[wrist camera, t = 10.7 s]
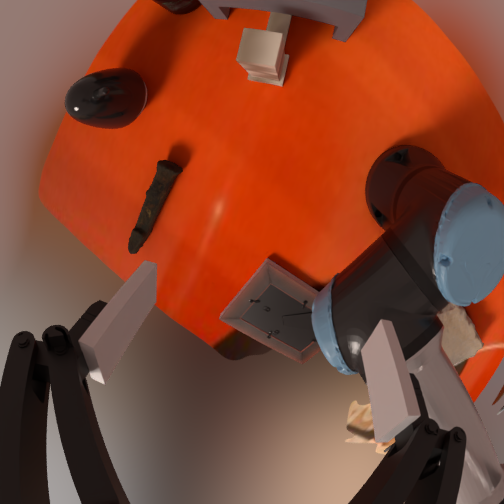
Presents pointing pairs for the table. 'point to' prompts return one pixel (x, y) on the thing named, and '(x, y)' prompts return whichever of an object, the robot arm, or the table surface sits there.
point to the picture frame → (276, 312)
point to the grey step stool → (301, 11)
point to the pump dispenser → (107, 98)
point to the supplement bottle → (179, 5)
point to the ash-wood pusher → (266, 50)
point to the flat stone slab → (458, 334)
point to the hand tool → (153, 203)
